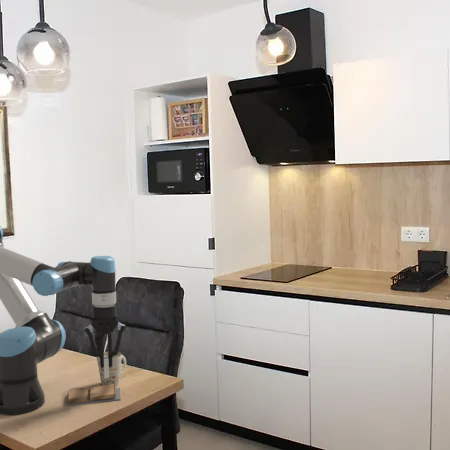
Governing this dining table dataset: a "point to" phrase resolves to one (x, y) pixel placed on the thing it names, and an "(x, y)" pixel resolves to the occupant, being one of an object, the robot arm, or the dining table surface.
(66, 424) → the dining table surface
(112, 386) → the plank
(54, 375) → the dining table surface
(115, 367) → the mug
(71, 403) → the underlay
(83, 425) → the dining table surface
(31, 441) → the dining table surface
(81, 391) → the laid plank
